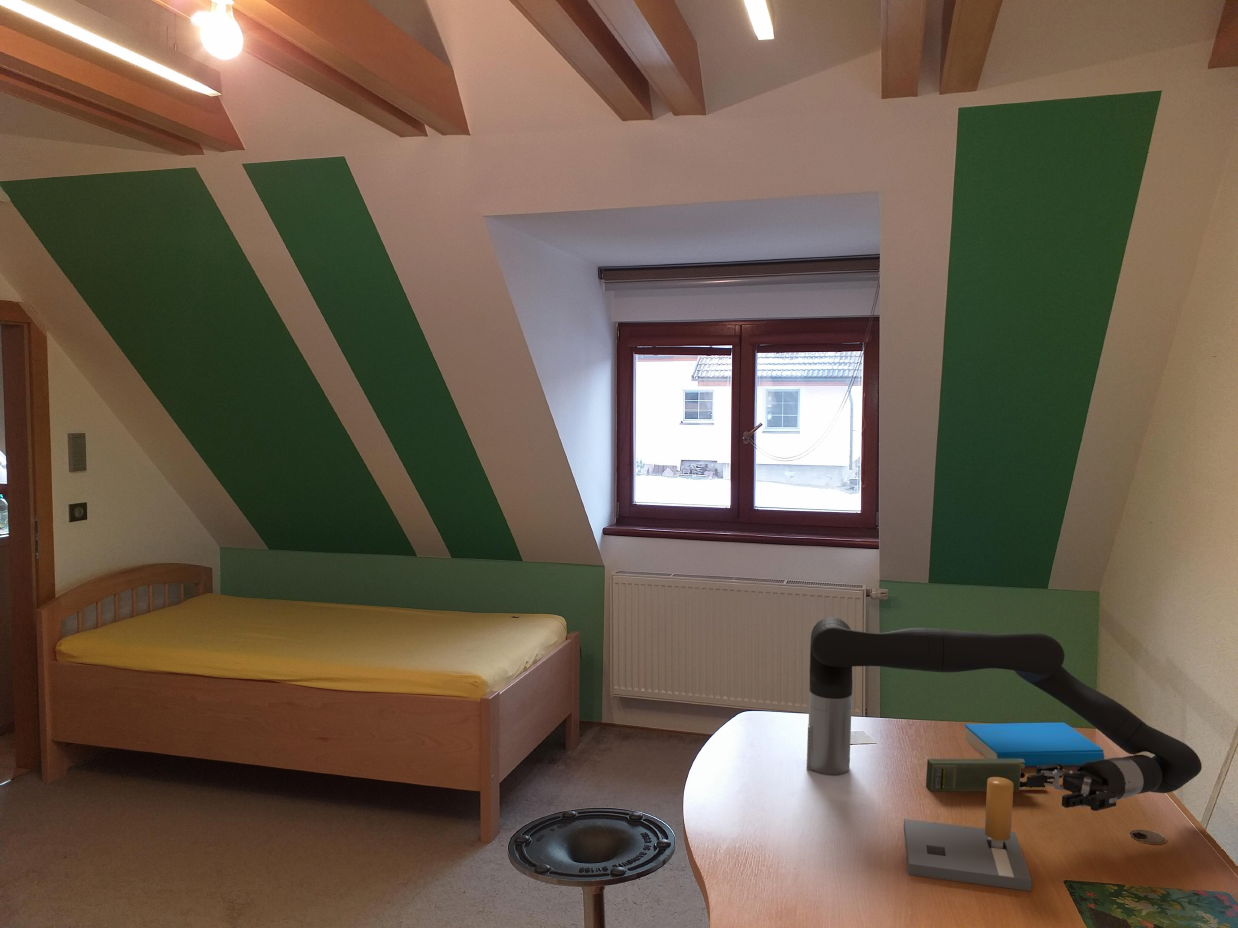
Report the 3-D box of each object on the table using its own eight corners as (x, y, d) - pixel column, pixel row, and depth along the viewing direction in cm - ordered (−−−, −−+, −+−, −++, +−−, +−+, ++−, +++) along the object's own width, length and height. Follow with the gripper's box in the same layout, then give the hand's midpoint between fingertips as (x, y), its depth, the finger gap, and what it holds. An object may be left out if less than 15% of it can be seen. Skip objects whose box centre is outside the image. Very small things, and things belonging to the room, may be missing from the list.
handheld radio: (924, 785, 199) (1040, 785, 199) (929, 793, 196) (1047, 793, 196) (926, 756, 198) (1042, 756, 199) (931, 763, 195) (1049, 763, 195)
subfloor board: (908, 874, 164) (909, 862, 164) (903, 828, 180) (904, 817, 180) (1030, 890, 159) (1031, 878, 159) (1014, 841, 175) (1015, 831, 175)
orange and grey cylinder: (985, 859, 169) (989, 785, 167) (982, 847, 173) (985, 775, 172) (1011, 862, 168) (1015, 788, 166) (1007, 850, 172) (1011, 778, 171)
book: (963, 724, 224) (1063, 720, 226) (963, 741, 225) (1062, 737, 227) (998, 753, 207) (1105, 748, 209) (997, 771, 208) (1104, 767, 210)
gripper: (1081, 746, 185) (1017, 757, 180) (1144, 775, 172) (1077, 788, 166) (1079, 782, 186) (1015, 794, 180) (1141, 814, 173) (1074, 828, 167)
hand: (1045, 791), depth 173 cm, fingers open, 8 cm apart
